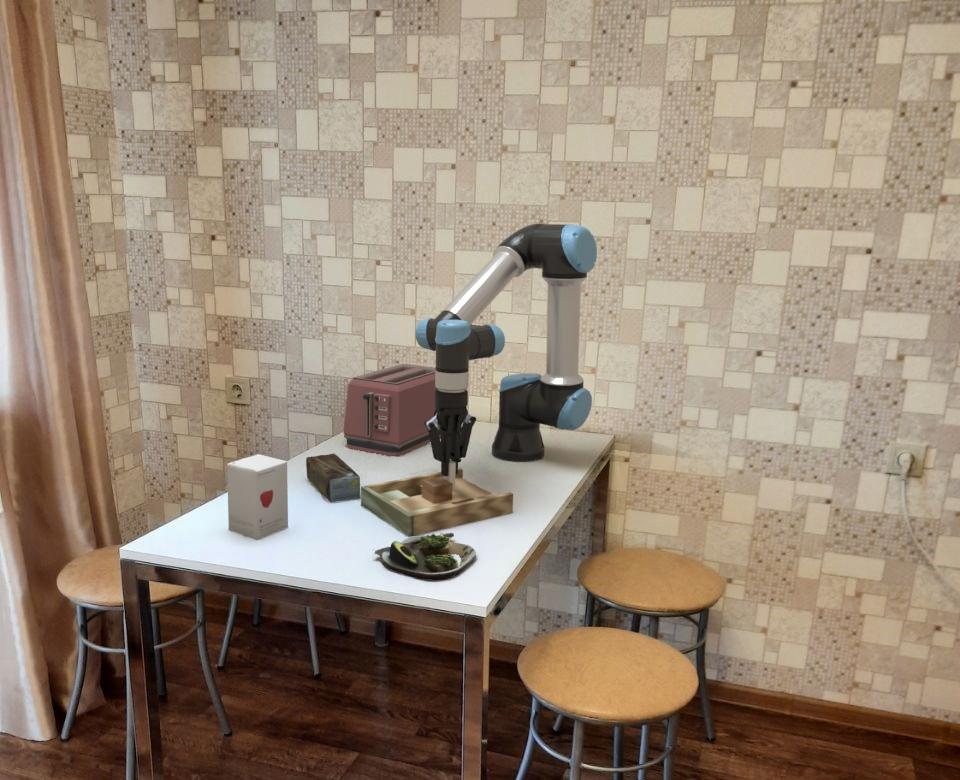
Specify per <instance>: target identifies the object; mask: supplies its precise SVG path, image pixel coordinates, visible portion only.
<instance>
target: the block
mask: <svg viewBox="0 0 960 780" xmlns="http://www.w3.org/2000/svg"><path fill="white" fill-rule="evenodd" d="M452 488H453V483H451V482H449V481H447V480H445V479H444V478H442V477H439V478H433V479H428V480H423V481H422V497H423V498H425V499H426V500H428V501H430V502H432V503H439V502H444V501H449V500H452Z"/></svg>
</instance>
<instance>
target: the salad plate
mask: <svg viewBox="0 0 960 780" xmlns="http://www.w3.org/2000/svg"><path fill="white" fill-rule="evenodd" d="M454 537H455V534H454V533H453V532H448V533H443V532H440V533H439V534H437V535H436V534H435V533H432V534H431V535H430V534H426V535H418V536H417V535H414V536H410V537H407V538H405V539H404V540H402V541H400V542H399V541H397V540H393V542H392V543H391V544H390V546H386V547H382V548H380V549H377V550H374V552H373V554H375V555H377V556H379V558H381V561H382V562H383V564H384V565H385V566H386V568H387V569H389V570H390V571H392V572H395V573H397V574H401V575H404V576H406V577H412V578H414V579H418V580H419V579H420V580H425V581H428V580H429V581H439V580H445V579H449V578H451V577H454V576H456V575H457V574H459V573H461V572H462V571H463V569H464V568H466V567H467V566H468V565H469V564H470V563H471V562H472V561H473V559H474V558H476V555H477V552H476V549H475V548H474V547H472V546H471V545H469V544H465V543H460V542H455V541H450V539H452V538H454ZM455 554H456V556H458V555H459V556H458V557H459V558H461V559H460V562H459V561H458V559H456V558H454V556H455ZM449 555H451V556H449ZM453 555H454V556H453Z"/></svg>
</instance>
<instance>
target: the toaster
mask: <svg viewBox="0 0 960 780" xmlns="http://www.w3.org/2000/svg"><path fill="white" fill-rule="evenodd" d="M435 370H436V368H435V367H433V366H432V367H430V366H423V365H422V366H421V365H416V364H406V363H401V364H397V365H394V366H390V367H387V368H383V369H380V370H376V371H373V372H368V373H365V374H362V375H358V376H355V377H352V379H351V380H350V381H349V382H348V385H347V392H346V401H345V402H346V404H345V413H344V423H343V435H344V436H343V438H344V439H346V448H347V447H348V448H347V449H349V448H350V450H353V449H354V450H355V451H358V450H359V452H363V451H364V452H363V453H368V452H370V453H369V454H374V453H376V454H375V455H379V454H381V455H380V456H384V455H386V456H385V457H391V456H396V457H401V455H402V456H405V455H406V453H407V454H409V453H411V452H413V451H415V450H417V448H418V449H420V448H422V447H424V446H426V445H428V444H431V443H430V437H429V432H428V429H427V428H426V426H425V424H424V423H425V421H430V420H431V419H432V418H433V417H434V412H435V409H436V407H435V390H436V389H438V388H436V387H435ZM437 425H438V427H437V429H438V432H439V437H440V439H441V432H440V426H439V424H438V423H437ZM423 445H424V446H423ZM421 446H422V447H421ZM419 447H420V448H419ZM414 449H415V450H414ZM412 450H413V451H412ZM410 451H411V452H410ZM408 452H409V453H408Z"/></svg>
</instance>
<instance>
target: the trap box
mask: <svg viewBox="0 0 960 780" xmlns="http://www.w3.org/2000/svg"><path fill="white" fill-rule="evenodd" d="M463 472H464V469H463V468H459V467H458V473H457V474H456V475H455V490H452V500H449V501H444V502H439V503H432V502H430V501H428V500H426V499H425V498H423V497H422V481H423V480H428V479H433V478H439V477H442V478H444V476H443V475H442V474H441V471H440V472H439V471H437V472H432V473H427V474H422V475H416V476H412V477H406V478H402V479H395V480H389V481H383V482H379V483H373V484H369V485H363V486H360V506H361V507H362V508H363V507H364V509H366V510H367V511H369V512H370V513H372V514H373V515H375V516H377V517H378V518H380V519H381V520H383V521H384V522H386V524H388V525H390V526H392V527H393V528H395V529H396V530H397V531H399V532H401V533H402V534H404V535H405V536H406V537H407V538H410V537H414V536H417V535H418V536H419V535H422V534H427V533H430V532H435V531H439V530H444V529H447V528H452V527H455V526H460V525H464V524H469V523H473V522H476V521H477V522H478V521H482V520H486V519H490V518H495V517H499V516H503V515H502V514H504V515H506V514H507V513H508V514H511V513H510V512H512V513H513V511H514V508H513V506H514V493H513V492H505V493H500V494H495V493H492V492H491V491H488V490H487V489H485V488H482V487H481V486H479V485H477V484H475V483H472V482H471V481H468V480H467V479H464V478H463V477H464V473H463ZM508 514H507V515H508Z"/></svg>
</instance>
